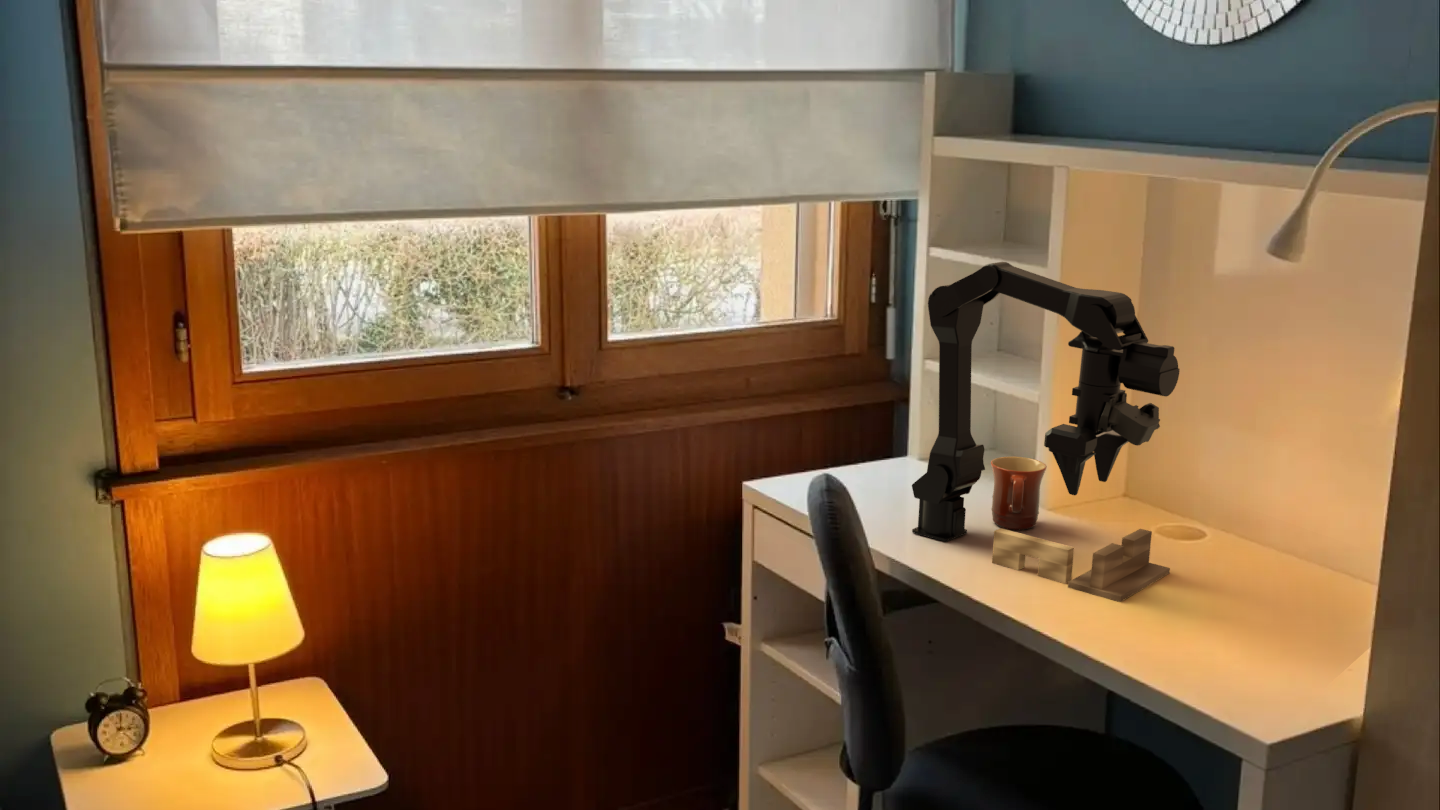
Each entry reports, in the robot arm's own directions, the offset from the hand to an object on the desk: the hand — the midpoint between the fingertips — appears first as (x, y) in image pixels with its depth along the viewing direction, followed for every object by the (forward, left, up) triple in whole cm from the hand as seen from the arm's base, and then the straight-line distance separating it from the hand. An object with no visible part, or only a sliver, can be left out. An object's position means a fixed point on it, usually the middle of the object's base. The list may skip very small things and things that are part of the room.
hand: (1088, 487), depth 199 cm
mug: (-18, +12, -14) cm, 25 cm away
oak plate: (-6, -4, -13) cm, 15 cm away
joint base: (+5, +2, -13) cm, 14 cm away
